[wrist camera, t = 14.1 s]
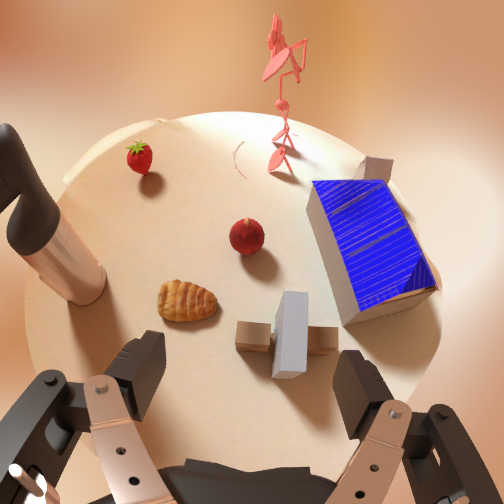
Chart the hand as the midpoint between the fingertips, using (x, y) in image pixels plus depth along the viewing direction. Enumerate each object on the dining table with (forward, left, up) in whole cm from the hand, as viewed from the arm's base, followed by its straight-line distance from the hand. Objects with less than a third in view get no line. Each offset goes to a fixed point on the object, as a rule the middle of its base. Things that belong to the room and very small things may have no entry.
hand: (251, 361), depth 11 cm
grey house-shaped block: (+37, +32, -29) cm, 57 cm away
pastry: (-6, +16, -29) cm, 34 cm away
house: (+27, +16, -29) cm, 43 cm away
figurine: (+17, +48, -29) cm, 59 cm away
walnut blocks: (+7, +5, -29) cm, 30 cm away
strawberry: (-12, +49, -29) cm, 58 cm away
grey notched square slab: (+7, +5, -29) cm, 30 cm away
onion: (+6, +23, -29) cm, 38 cm away
